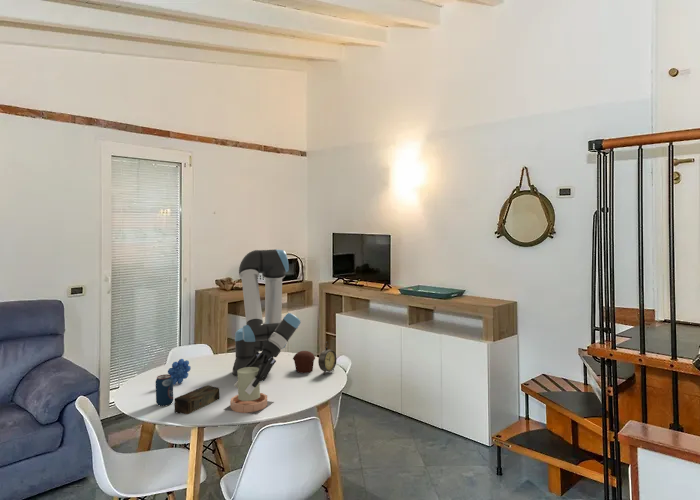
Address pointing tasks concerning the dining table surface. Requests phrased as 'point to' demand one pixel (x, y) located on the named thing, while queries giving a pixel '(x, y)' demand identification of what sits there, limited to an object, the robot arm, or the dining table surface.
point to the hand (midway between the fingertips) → (241, 389)
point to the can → (247, 383)
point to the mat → (252, 412)
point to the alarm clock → (327, 360)
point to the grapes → (179, 371)
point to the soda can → (164, 390)
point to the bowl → (248, 404)
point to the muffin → (304, 361)
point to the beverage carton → (196, 399)
